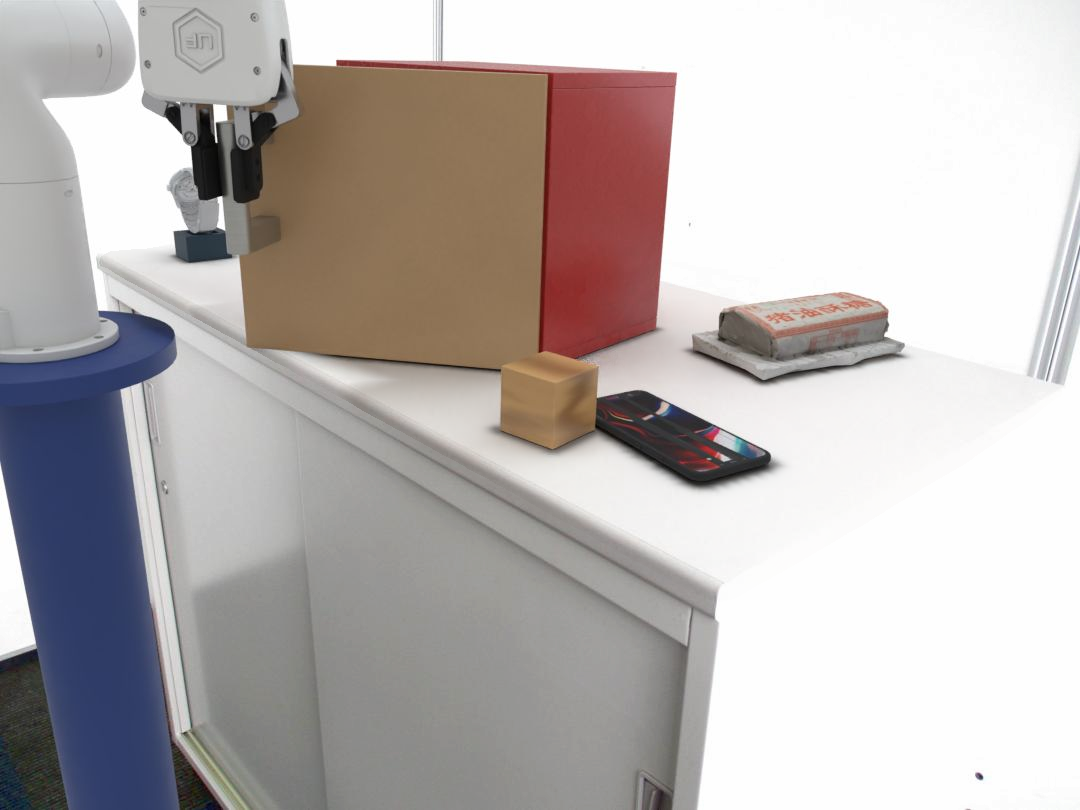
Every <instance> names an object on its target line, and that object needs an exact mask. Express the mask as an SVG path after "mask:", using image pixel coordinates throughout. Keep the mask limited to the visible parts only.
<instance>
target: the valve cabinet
mask: <svg viewBox="0 0 1080 810" xmlns="http://www.w3.org/2000/svg"><path fill="white" fill-rule="evenodd" d="M335 63H336V64H335V66H350V67H375V68H399V69H424V70H449V71H474V72H499V73H523V74H547V75H548V90H547V119H546V149H545V178H544V207H543V236H542V266H541V295H540V324H539V353H541V352H544V351H548V352H551V353H554V354H558V355H561V356H565V357H568V358H572V359H577V358H581V357H582V356H585V355H587V354H591V353H593V352H596V351H599V350H601V349H604V348H608V347H610V346H613V345H616V344H619V343H621V342H624V341H626V340H629V339H631V338H635V337H637V336H640V335H643V334H645V333H648V332H651V331H654V330H656V329H657V322H658V321H657V320H658V310H659V299H660V298H659V296H660V284H661V272H662V261H663V260H662V259H663V247H664V236H665V224H666V211H667V199H668V188H669V187H668V185H669V174H670V163H671V162H670V161H671V151H672V150H671V149H672V137H673V128H674V127H673V124H674V114H675V102H676V89H677V80H678V72H673V71H655V70H654V71H653V70H638V69H637V70H636V69H619V68H617V69H616V68H599V67H582V66H581V67H580V66H565V65H564V66H561V65H543V64H525V63H524V64H523V63H508V62H488V61H467V60H465V61H464V60H462V61H461V60H394V59H393V60H392V59H391V60H390V59H389V60H387V59H385V60H383V59H382V60H381V59H336V60H335Z"/></svg>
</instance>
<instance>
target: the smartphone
mask: <svg viewBox="0 0 1080 810" xmlns="http://www.w3.org/2000/svg"><path fill="white" fill-rule="evenodd" d="M595 426H598V427H599V428H601V429H603V430H604V431H606V432H608V433H609V434H611V435H613V436H615V437H616V438H618V439H619V440H621V441H624V442H625V443H627V444H628V445H631V446H632V447H634V448H635V449H637V450H639V451H641V452H643V453H645V454H646V455H647V456H650V457H651V458H653V459H654V460H656V461H658V462H660V463H662V464H663V465H664V466H667V467H668V468H670V469H672V470H674V471H675V472H677V473H679V474H680V475H682V476H684V477H685V478H687V479H689V480H692V481H695V482H706V481H711V480H715V479H718V478H721V477H726V476H729V475H732V474H736V473H739V472H743V471H747V470H750V469H754V468H757V467H761V466H765V465H767V464H769V463H770V461H771V460H772V455H771V452H769V451H768V450H767V449H766V448H763V447H760V446H758V445H756V444H755V443H753V442H751V441H748V440H747V439H744V438H742V437H740V436H738V435H736V434H734V433H732V432H730V431H728V430H726V429H724V428H723V427H720V426H719V425H716V424H714V423H712V422H710V421H708V420H705V419H704V418H703V417H699V416H698V415H695V414H693V413H691V412H689V411H687V410H686V409H683V408H681V407H679V406H677V405H676V404H673V403H671V402H669V401H667V400H665V399H663V398H661V397H659V396H657V395H655V394H653V393H651V392H649V391H646V390H641V389H634V390H628V391H623V392H619V393H613V394H609V395H604V396H600V397H598V396H597V404H596V420H595Z"/></svg>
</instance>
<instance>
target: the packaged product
mask: <svg viewBox="0 0 1080 810" xmlns="http://www.w3.org/2000/svg"><path fill="white" fill-rule="evenodd" d="M889 327H890V323H889V309H888V307H886V305H884V304H883V302H881V301H879V300H875V299H872V298H869V297H865V296H862V295H860V294H855V293H851V292H846V291H839V292H830V293H824V294H815V295H806V296H799V297H793V298H785V299H778V300H770V301H764V302H763V301H761V302H756V303H748V304H741V305H734V306H729V307H727V308H724V309H722V311H720V312H719V315H718V329H715V330H710V331H709V330H707V331H704V332H695V333H692V334H691V339H692V350H695V351H698V352H701V353H702V354H706V355H708V356H710V357H713V358H716V359H718V360H721V361H723V362H726V363H728V364H731V365H734V366H736V367H738V368H741V369H743V370H745V371H747V372H749V373H750V374H752V375H754V376H755V377H757V378H759V379H760V380H762V381H766V380H768V379H773V378H775V377H779V376H783V375H787V374H789V373H795V372H800V371H807V370H813V369H820V368H826V367H833V366H852V365H855V364H856V363H859V362H861V361H863V360H865V359H871V358H876V357H879V356H881V357H882V356H886V355H890V354H896V353H901V352H902V351H903V350H904V349H905V347H906V345H905V342H901V341H899V340H896V339H894V338H891V337H889V336H885V334H886V333H888V332H889Z"/></svg>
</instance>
